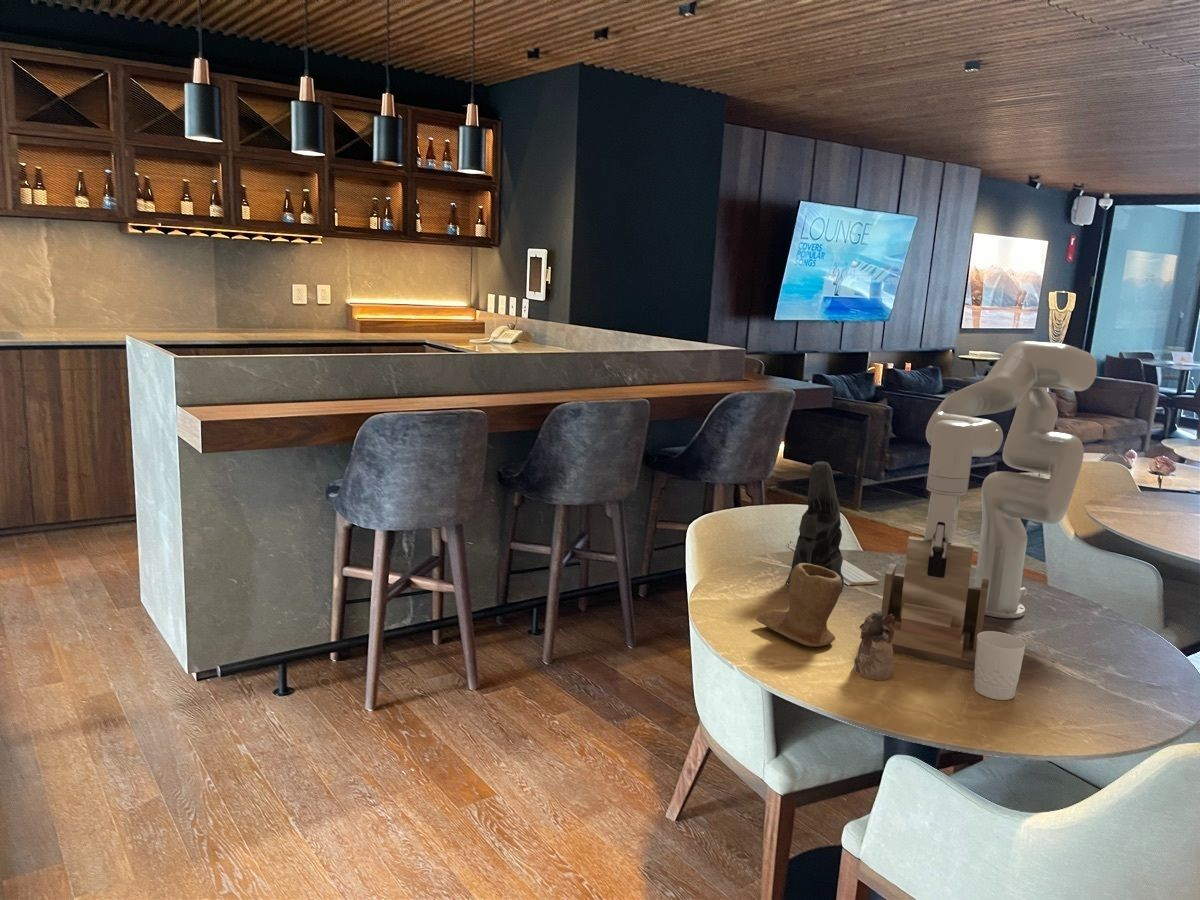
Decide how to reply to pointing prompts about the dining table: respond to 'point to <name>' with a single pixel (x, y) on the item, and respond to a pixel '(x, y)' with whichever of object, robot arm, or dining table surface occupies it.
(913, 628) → the offcut bundle
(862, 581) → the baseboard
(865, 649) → the figurine
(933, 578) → the birch sheet
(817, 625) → the clay boot figure
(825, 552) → the dark tapered sculpture
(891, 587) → the walnut rack
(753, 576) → the dining table surface
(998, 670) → the white cup
